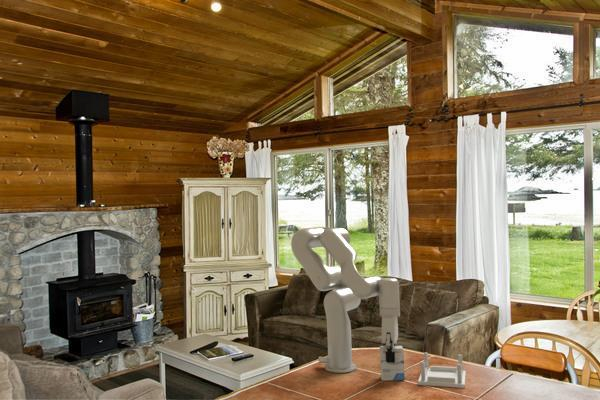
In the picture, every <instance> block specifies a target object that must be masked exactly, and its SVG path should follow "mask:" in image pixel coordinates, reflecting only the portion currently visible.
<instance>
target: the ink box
mask: <svg viewBox="0 0 600 400" xmlns="http://www.w3.org/2000/svg"><path fill="white" fill-rule="evenodd" d="M391 347H392V346H391ZM394 352H395V363H387V362H386V345H379V356H380V357H379V358H380V359H379V361H380V364H379V365H380V379H381V381H405V361H404V360H405V358H404V356H405V355H404V348H403V345H397V346H394Z"/></svg>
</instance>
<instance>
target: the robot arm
mask: <svg viewBox="0 0 600 400" xmlns="http://www.w3.org/2000/svg"><path fill="white" fill-rule="evenodd" d="M350 243H351V234H350V233H349V231H348V230H346V229H345V228H342V227H325V226H324V227H323V226H320V227H319V226H318V227H305V228H301V229H298V230H296V231H295V232H294V233H293V235H292V237H291V241H290V245H291V251H292V254H293V256H294V257H295V259H296V261H298V263H299V265H301V266H302V268H303V270H304V271H305V273H306V274H307V276H308V278H309V279H310V281H311V282H312V284H313V285H314V286H315V287H316V289H317V290H318V291H320V292H326V291H327V292H328V291H329V292H328V293H326V295H325V296H324V299H323V307H324V311H325V312H324V313H325V316H326V317H325V318H326V330H327V331H326V332H327V356H318V360H317V361H318V362H319V363H321V364H325V365H324V370H325V371H327V372H330V373H336V374H342V373H350V372H354V371H355V370H356V369H357V364H356V363H354V362H353V353H352V352H353V351H352V349H353V348H352V325H351V320H350V317H349V314H348V312H349V311H351V310H354V309H356V308H358V307H359V306H360V304H361V301H362V300H364V299H365V300H366V299H369V298H372V297H377V296H378V298H379V299H378V301H379V304H378V305H379V316H380V317H381V343H382V344H385V346H386V362H387V363H395V352H394V346H398V344H397V341H398V339H399V323H398V317H400V316H401V304H400V302H401V301H400V282H399V280H398V279H397V278H394V277H381V276H378V275H377V276H376V275H374V276H368V277H363V276H362V275H361V274H360V272H359V271H358V270H357V268H356V266H355V261H356V260H357V256H358V253H357V252H356V251H355V250H354V248H352V247H351V245H350ZM322 247H323V248H324V250H326V252H327V253H328V254H329V255H330V257H331V258H332V259H333V260H334V261H335V262H336V264H337V265H338V266H337V265H331V266H328V265H327V264H326V263H325V262H324V260H323V258H322V257H321V256H320V255H319V254H318V253H317V252H316V251H314V249H315V248H322ZM313 248H314V249H313ZM391 346H392V347H391Z"/></svg>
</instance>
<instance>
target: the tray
mask: <svg viewBox="0 0 600 400" xmlns="http://www.w3.org/2000/svg"><path fill="white" fill-rule="evenodd" d="M428 353H429V352H423V358H424V359H423V361H420V375H419V377H418V380H417V385H418V386H432V387H444V388H445V387H446V388H460V389H461V388H462V389H465V388H466V377H467V375H466V374H467V371H466V370H463V369H464V367H463V354H461V353H459V354H457V356H458V357H457V358H458V359H457V361H458V363H457V364H456V366H445V365H444V366H442V365H430V366H429V355H428ZM429 367H430V368H429Z"/></svg>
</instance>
